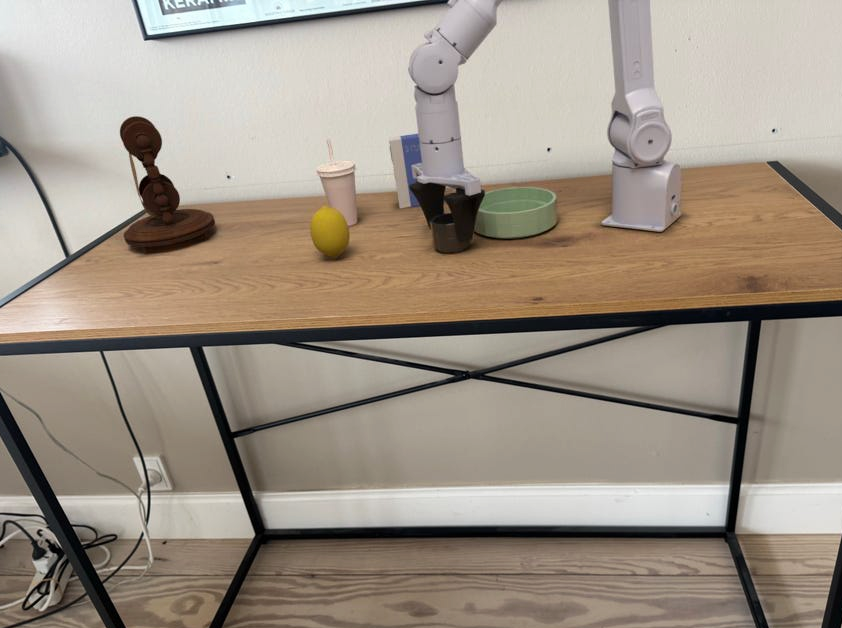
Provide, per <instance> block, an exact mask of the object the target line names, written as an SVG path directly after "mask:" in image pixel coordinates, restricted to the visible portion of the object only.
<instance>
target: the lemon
mask: <svg viewBox="0 0 842 628" xmlns="http://www.w3.org/2000/svg"><path fill="white" fill-rule="evenodd" d="M309 230H310V232H309V233H310V238H311V241H312V243H313V245H314V247H315V249H316V250H317V251H319V252H320V253H321V254H323V255H325V256H329V257H330V258H331V259H337V258H338V257H339V256H340V255H341V254H342V253H343V252H345V250H346V249H347V248H348V245H349V244H350V243H349V242H350V229H349V226H348V225H347V222H346V220H345V218H344V216H343V215H342V214H341V213H340V212H339V211H338V210H336V209H333V208H330V206H329V205H322V207H321V208H320V209H318V210H317V211H315V212H314V214H313V216H312V217H311V220H310V225H309Z"/></svg>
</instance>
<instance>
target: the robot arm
mask: <svg viewBox="0 0 842 628" xmlns="http://www.w3.org/2000/svg"><path fill="white" fill-rule="evenodd" d="M503 1H504V0H448V1H447V6H449V8H448V10H447V11H446V12H445V13H444V15H442V17H441V18H440V20H439V21H437V23H436V25H435V26H434V27H433V28H432V30H429V29H427V30H426V31H425V33H424V34H423V37H424V38H425V39H426V40H427V42H424V43H421V44H419V45H418V46H417V47H415V49H414V50H413V51H412V53H411V55H410V56H409V62H408V67H407V72H408V75H409V76H410V78H411V80H412V81H413V82H414V84H415V85H414V91H413V96H414V101H415V102H416V103H415V106H414V109H415V119H416V125H417V134H419V142H420V150H421V158H422V163H418V164H414V165H411V167H412V174H413V178H414V179H417V183H413V184H410V185H409V188H410V190H411V192H412V193H413V194H414V196H415V197H416V199H417V200H418V202H419V204H420V205H419V206H420V208H421V211H422V213H423V217H424V219H425V221H426V224H427V226H428V229H429V231H431V226H430V220H431V218H433V217H434V216H436V215H439V214H443V213H445V203H446V206H447V207H448V209H449V211H450V212H451V214H452V217H453V221H454V225H455V231H456V235H457V238H458V241H459V242H461V243H462V242H465V241H468V240H471V239H472V240H473V239H474V234H475V230H474V228H475V222H476V217H477V213H478V210H479V207H480V204H481V202H482V200H483V198H484V196H485V193H486V192H485V189H482V188H481V178H480V177H477V176H475V175H473V174H472V172H470V171H469V170H468V169H467V168H465V165H464V163H465V162H464V152H463V145H462V144H463V143H462V134H461V124H460V114H459V113H460V112H459V103H458V101H457V98H456V89H455V84H456V82H457V80H458V77H459V66H461V65H465V64H466V63H467V62H468V60H469V59H470V58H471V57H472V55H474V53H475V52H476V51H477V49H478V48H479V47H480V45H481V44H483V42H484V40H485V39H486V38H487V37H488V36H489V34H490V33H491V32H492V31H493V29H494V28H495V27H496V26H497V22H498V20H497V19H498V18H497V17H498V15H497V13H498V12H497V10H498V7H499V6H500V5H501V4H502V2H503ZM607 3H608V15H609V17H608V18H609V28H610V41H611V42H610V43H611V54H612V65H613V66H612V67H613V68H612V69H613V77H614V94H613V97H612V100H611V102H610V103H611V105H610V106H611V116H610V119H609V122H608V125H607V130H606V131H607V132H606V135H607V136H606V137H607V140H608V142H609V144H610V145H611V146H612V147H613V148H614V153H613V155H612V158H611V214H610V215H609V216H607V217H606V218H605V219H603V220H602V221H601V226H604V227H605V226H607V227H615V228H624V229H632V230H641V231H648V232H649V231H650V232H658V233H662V232H664V231H665V230H666V229H667V228H669V226H671V225H672V224H673V223H674V222H675V221H676V220H677V219H679V218H680V217H681V216H682V212H681V198H682V197H681V195H682V194H681V193H682V168H681V166H680V164H678V163H675V162H671V161H670V162H669V161H667V160H665V156H666V155H667V153H668V152H669V150H670V148H671V145H672V139H673V137H672V134H673V133H672V131H671V128H670V126H669V124H668V123H667V121H666V119H665V113H664V111H665V110H664V105H663V103H662V101H661V99H660V97H659V95H658V93H657V91H656V88H655V74H654V73H655V72H654V54H653V37H652V36H653V35H652V18H651V17H652V16H651V0H607ZM446 188H450V189H454V190H455V192H452V193H451V192H450V193H448V194H445V193H446Z"/></svg>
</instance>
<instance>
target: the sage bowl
mask: <svg viewBox="0 0 842 628" xmlns="http://www.w3.org/2000/svg"><path fill="white" fill-rule="evenodd" d="M557 223H558V197H557V195H556V192H554V191H552V190H549V189H546V188H543V187H535V186H512V187H503V188H499V189H493V190H489V191H487V192H485V196H484V198H483V200H482V202H481V204H480V207H479V210H478V213H477V217H476V222H475V228H474V232H476V233H477V234H479V235H482V236H485V237H488V238H494V239H501V240H503V239H504V240H506V239H507V240H510V239H511V240H513V239H522V238H527V237H532V236H536V235H539V234H542V233H543V232H545V231H548V230H550V229H551V228H553V227H555V225H556V224H557Z"/></svg>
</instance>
